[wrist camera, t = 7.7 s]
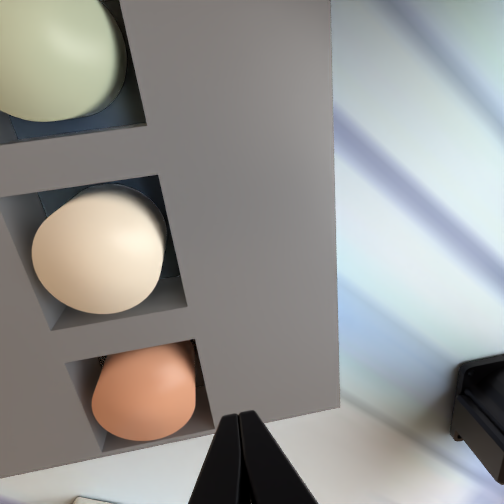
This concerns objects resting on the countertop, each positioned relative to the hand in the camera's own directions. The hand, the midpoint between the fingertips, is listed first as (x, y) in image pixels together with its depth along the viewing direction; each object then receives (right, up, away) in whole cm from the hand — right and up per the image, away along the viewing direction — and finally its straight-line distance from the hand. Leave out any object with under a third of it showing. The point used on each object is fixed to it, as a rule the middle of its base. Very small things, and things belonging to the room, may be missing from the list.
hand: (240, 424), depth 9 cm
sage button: (-6, +11, +4) cm, 14 cm away
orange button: (-5, -1, +10) cm, 11 cm away
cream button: (-6, +5, +7) cm, 10 cm away
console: (-6, +5, +7) cm, 10 cm away
